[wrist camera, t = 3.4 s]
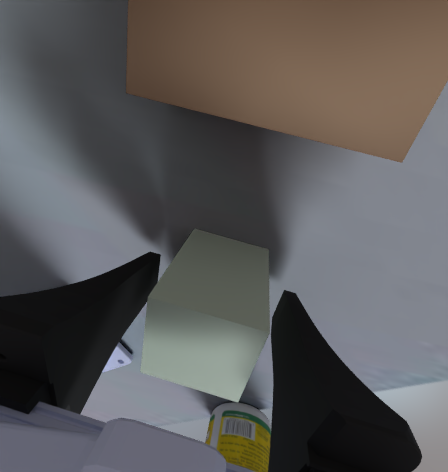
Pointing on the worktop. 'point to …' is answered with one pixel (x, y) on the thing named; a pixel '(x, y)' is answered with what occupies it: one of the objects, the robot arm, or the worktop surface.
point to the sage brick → (209, 316)
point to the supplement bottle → (241, 435)
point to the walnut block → (296, 65)
